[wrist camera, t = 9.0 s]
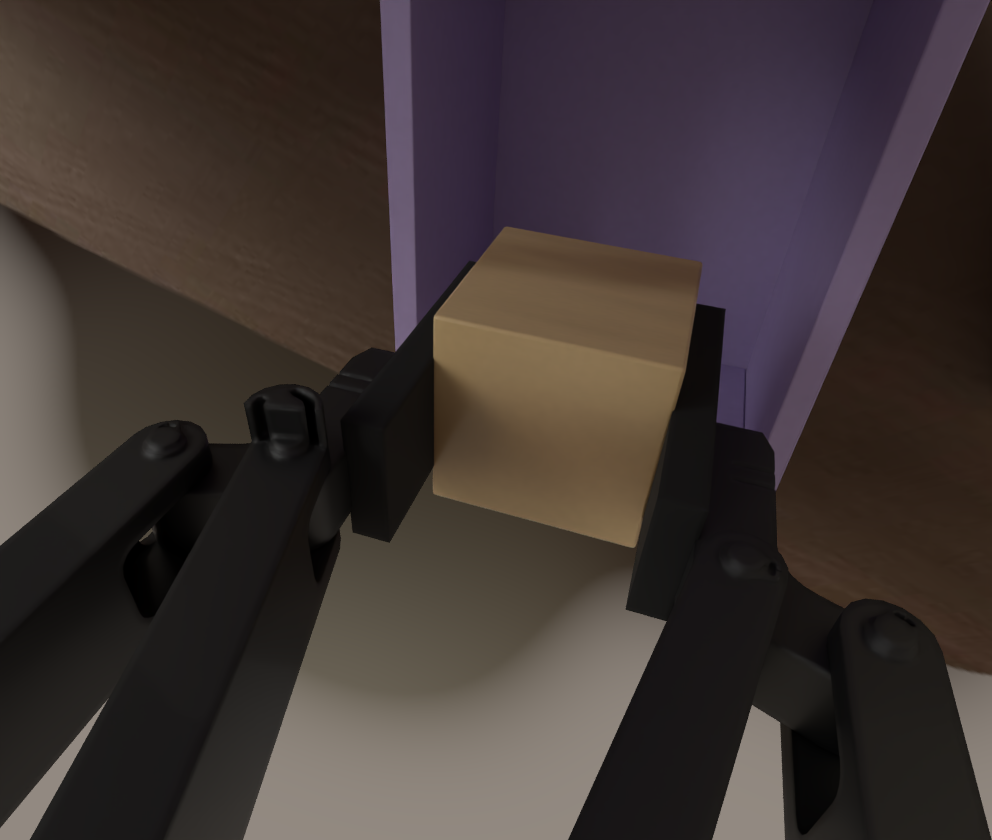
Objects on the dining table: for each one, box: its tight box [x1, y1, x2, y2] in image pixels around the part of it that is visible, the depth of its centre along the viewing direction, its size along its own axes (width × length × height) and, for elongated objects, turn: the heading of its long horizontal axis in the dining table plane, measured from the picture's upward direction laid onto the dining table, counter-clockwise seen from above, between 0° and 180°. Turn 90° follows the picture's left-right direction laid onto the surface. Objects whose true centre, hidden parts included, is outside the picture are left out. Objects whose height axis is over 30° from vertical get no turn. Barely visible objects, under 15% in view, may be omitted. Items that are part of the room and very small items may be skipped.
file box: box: [380, 0, 990, 490], centre depth 21 cm, size 17×13×9 cm
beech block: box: [433, 227, 703, 548], centre depth 15 cm, size 4×4×4 cm
